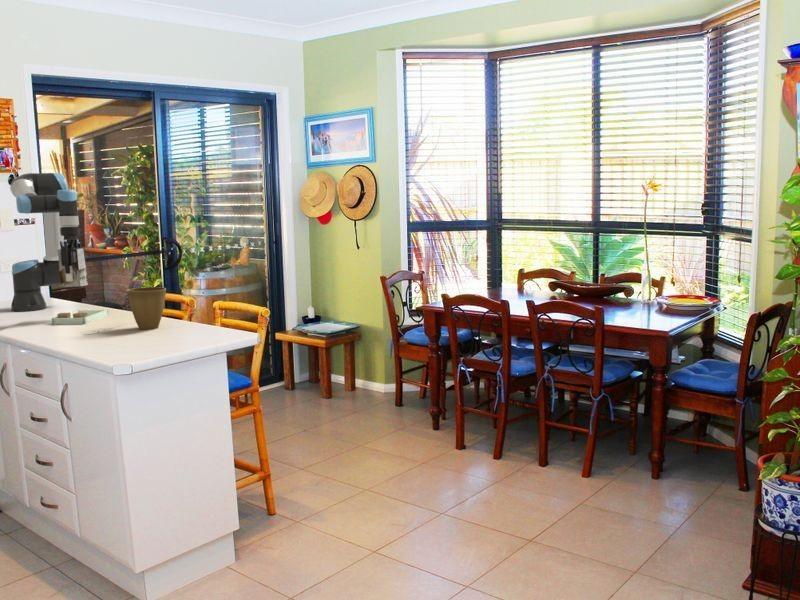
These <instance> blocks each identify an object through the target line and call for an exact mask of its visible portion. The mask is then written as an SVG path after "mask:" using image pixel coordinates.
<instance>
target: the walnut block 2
mask: <svg viewBox="0 0 800 600" xmlns="http://www.w3.org/2000/svg"><path fill="white" fill-rule="evenodd" d="M87 316H88V314H87V313H82V312H79V313H75V314H73V318H84V317H87Z"/></svg>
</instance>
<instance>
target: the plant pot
mask: <svg viewBox="0 0 800 600" xmlns="http://www.w3.org/2000/svg"><path fill="white" fill-rule="evenodd" d="M126 292H127V297H128V298H127V299H128V301H129V302H128V303H129V305H130V309H131V312H132V315H133V318H134V320H135V323H136V325H137V327H138V329H139V330H143V329H147V330H154V329H155V328H156V329H158V328H159V326H160V323H161V320H162V316H163V312H164V308H165V301H166V295H167V288H166V287H160V286H154V287H153V286H149V287H148V286H147V287H144V286H143V287H134V288H127V290H126ZM156 329H155V330H156Z"/></svg>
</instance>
